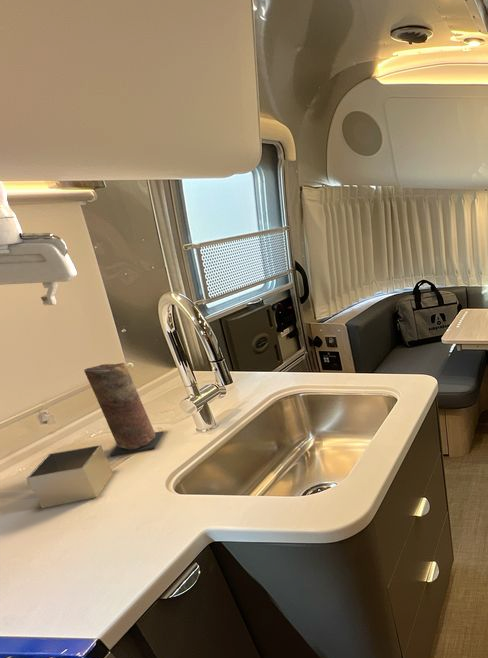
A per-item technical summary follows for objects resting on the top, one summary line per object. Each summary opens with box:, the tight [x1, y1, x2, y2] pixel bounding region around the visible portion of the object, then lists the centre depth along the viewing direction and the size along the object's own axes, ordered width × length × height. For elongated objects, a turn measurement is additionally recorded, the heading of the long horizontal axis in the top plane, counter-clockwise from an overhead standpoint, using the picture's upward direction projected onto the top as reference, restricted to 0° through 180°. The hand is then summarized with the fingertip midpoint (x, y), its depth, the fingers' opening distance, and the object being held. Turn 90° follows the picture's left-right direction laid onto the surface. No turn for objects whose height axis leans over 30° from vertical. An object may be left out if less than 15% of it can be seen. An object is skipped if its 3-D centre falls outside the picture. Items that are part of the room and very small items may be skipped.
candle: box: [83, 362, 156, 450], centre depth 112 cm, size 8×7×20 cm
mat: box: [110, 431, 164, 457], centre depth 116 cm, size 8×8×1 cm
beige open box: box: [26, 444, 114, 509], centre depth 98 cm, size 9×10×7 cm
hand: (20, 306), depth 96 cm, fingers open, 8 cm apart
